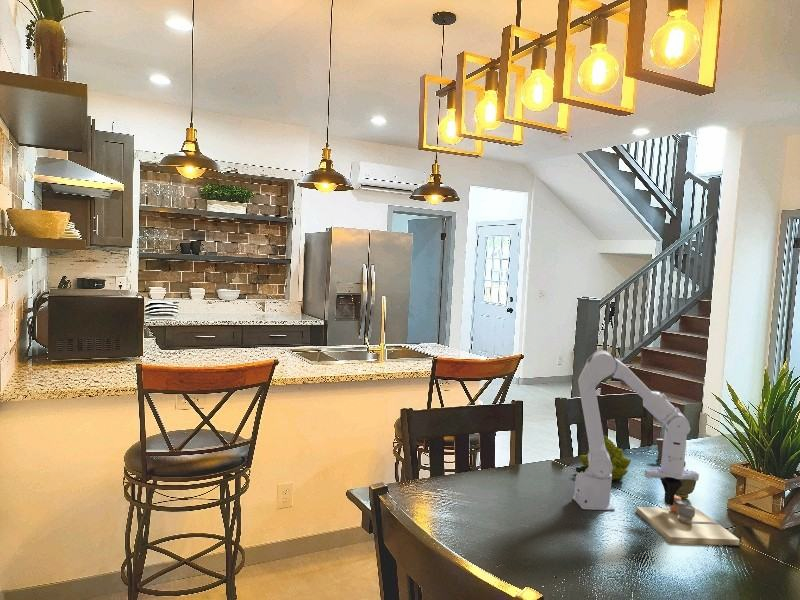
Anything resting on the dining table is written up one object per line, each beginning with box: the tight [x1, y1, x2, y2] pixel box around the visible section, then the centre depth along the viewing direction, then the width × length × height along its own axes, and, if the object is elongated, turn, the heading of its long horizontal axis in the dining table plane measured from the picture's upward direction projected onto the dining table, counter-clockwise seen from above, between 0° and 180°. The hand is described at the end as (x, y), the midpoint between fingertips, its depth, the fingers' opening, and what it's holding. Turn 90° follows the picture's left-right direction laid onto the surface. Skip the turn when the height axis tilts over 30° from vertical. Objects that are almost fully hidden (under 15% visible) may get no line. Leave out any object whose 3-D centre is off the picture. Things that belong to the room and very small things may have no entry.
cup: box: [675, 469, 697, 500], centre depth 174 cm, size 8×7×8 cm
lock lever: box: [669, 495, 696, 518], centre depth 156 cm, size 10×4×4 cm, turn 178°
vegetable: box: [575, 434, 632, 482], centre depth 188 cm, size 15×16×15 cm
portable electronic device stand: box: [653, 438, 686, 468], centre depth 207 cm, size 9×8×8 cm
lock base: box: [636, 506, 740, 546], centre depth 153 cm, size 18×18×4 cm
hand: (668, 503), depth 159 cm, fingers closed, pressing on lock lever
